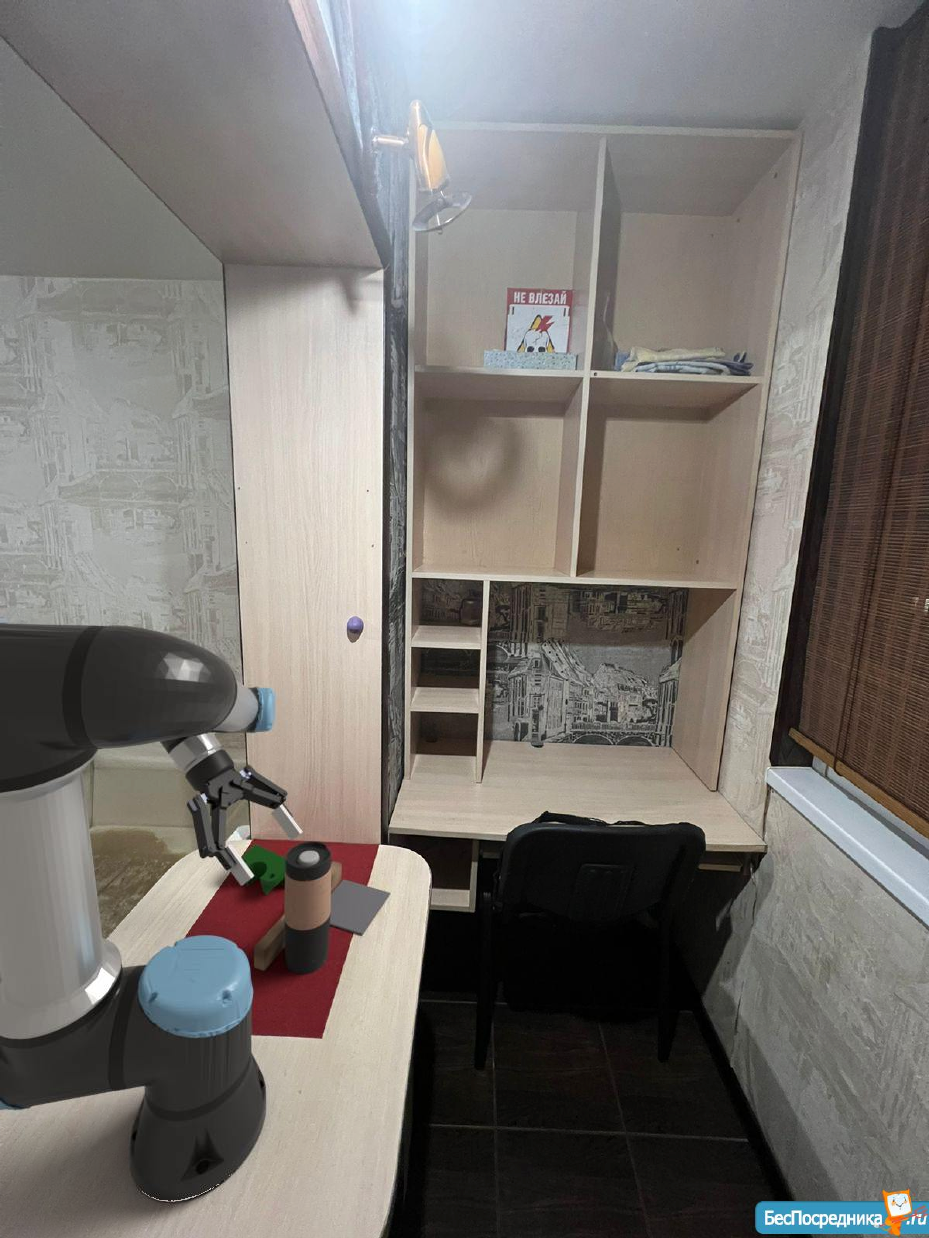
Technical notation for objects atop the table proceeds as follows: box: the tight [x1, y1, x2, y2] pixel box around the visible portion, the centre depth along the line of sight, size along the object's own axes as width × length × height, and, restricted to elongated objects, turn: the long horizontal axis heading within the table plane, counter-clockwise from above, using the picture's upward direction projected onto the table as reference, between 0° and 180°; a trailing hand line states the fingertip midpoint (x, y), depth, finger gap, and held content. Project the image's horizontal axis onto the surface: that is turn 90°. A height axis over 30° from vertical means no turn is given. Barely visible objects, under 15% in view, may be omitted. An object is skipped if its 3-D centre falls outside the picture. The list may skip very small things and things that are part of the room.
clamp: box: [240, 844, 286, 896], centre depth 109 cm, size 12×6×9 cm, turn 57°
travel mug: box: [283, 840, 333, 975], centre depth 90 cm, size 8×8×20 cm
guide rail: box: [253, 860, 343, 972], centre depth 100 cm, size 25×2×4 cm, turn 163°
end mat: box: [330, 879, 391, 936], centre depth 104 cm, size 12×11×1 cm
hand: (274, 857), depth 92 cm, fingers open, 13 cm apart
